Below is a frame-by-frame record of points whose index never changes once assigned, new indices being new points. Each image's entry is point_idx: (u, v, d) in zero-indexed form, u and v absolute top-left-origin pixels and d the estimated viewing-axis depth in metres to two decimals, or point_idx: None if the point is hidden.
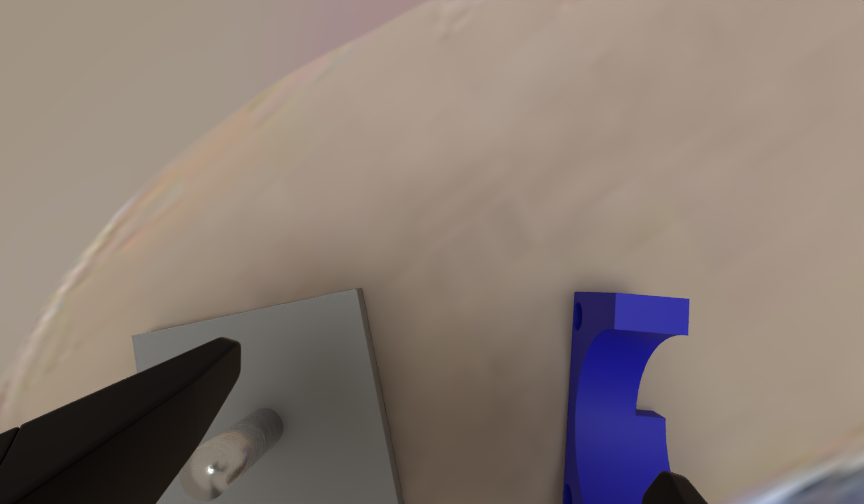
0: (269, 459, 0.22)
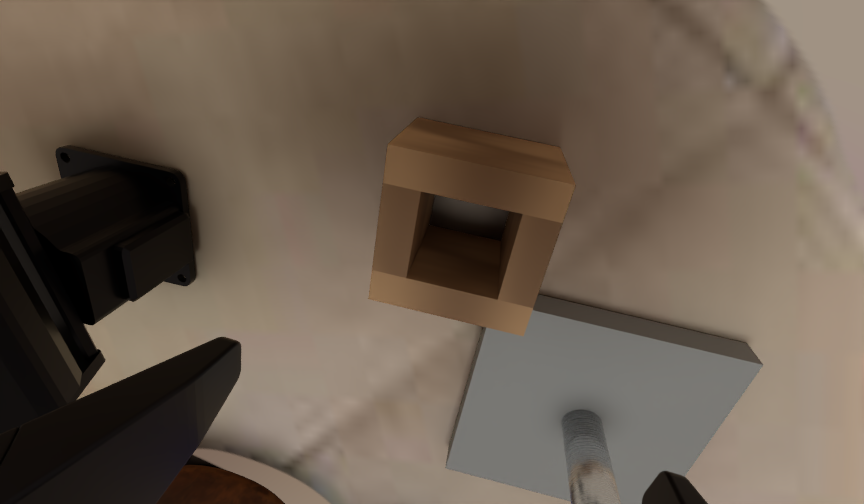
0: (551, 416, 0.22)
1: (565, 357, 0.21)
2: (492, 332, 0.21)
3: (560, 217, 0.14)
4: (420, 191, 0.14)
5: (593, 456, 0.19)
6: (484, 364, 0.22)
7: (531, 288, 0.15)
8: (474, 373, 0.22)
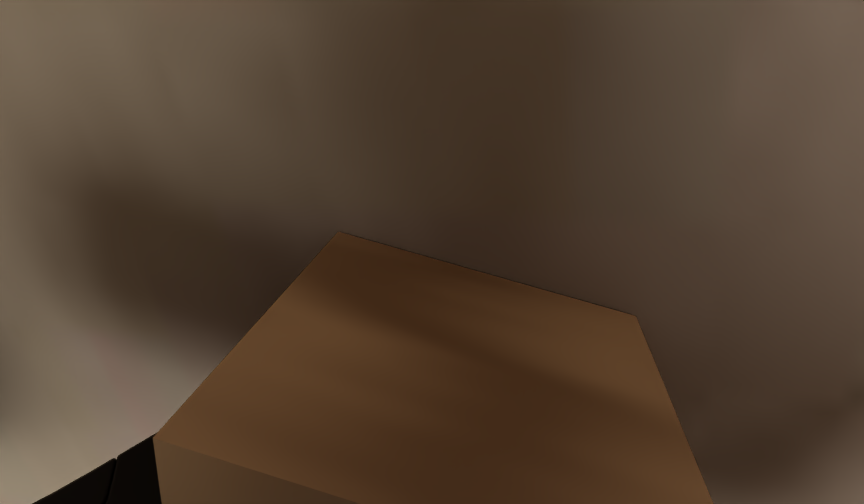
0: None
1: None
2: None
3: None
4: None
5: None
6: None
7: None
8: None
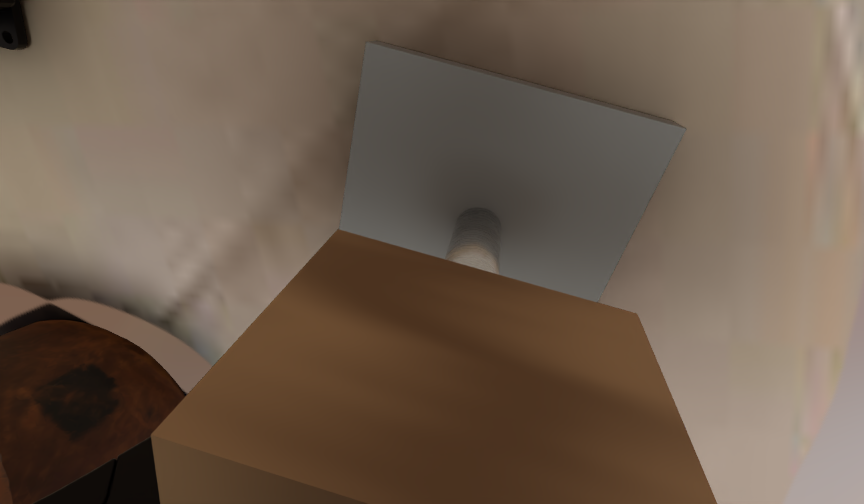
0: (442, 220, 0.19)
1: (454, 128, 0.17)
2: (367, 92, 0.17)
3: None
4: None
5: (475, 235, 0.16)
6: (361, 143, 0.18)
7: None
8: (350, 157, 0.18)
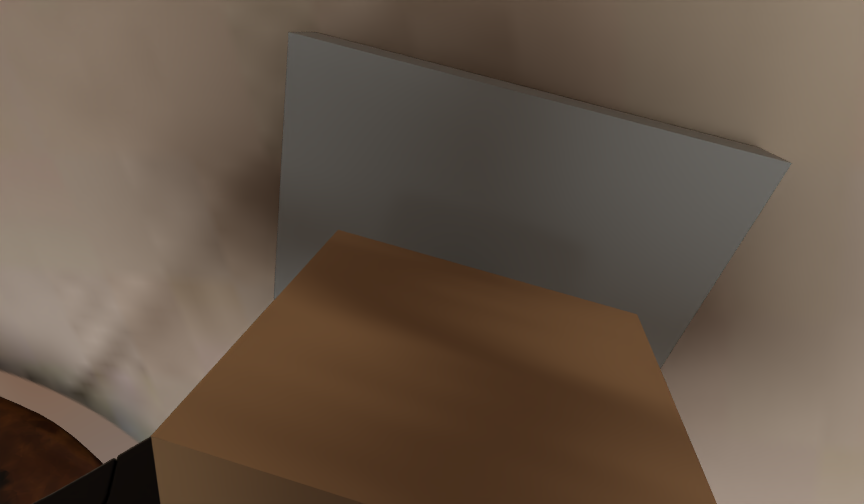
0: None
1: (428, 160, 0.11)
2: (296, 108, 0.11)
3: None
4: None
5: None
6: (294, 181, 0.12)
7: None
8: (281, 201, 0.13)
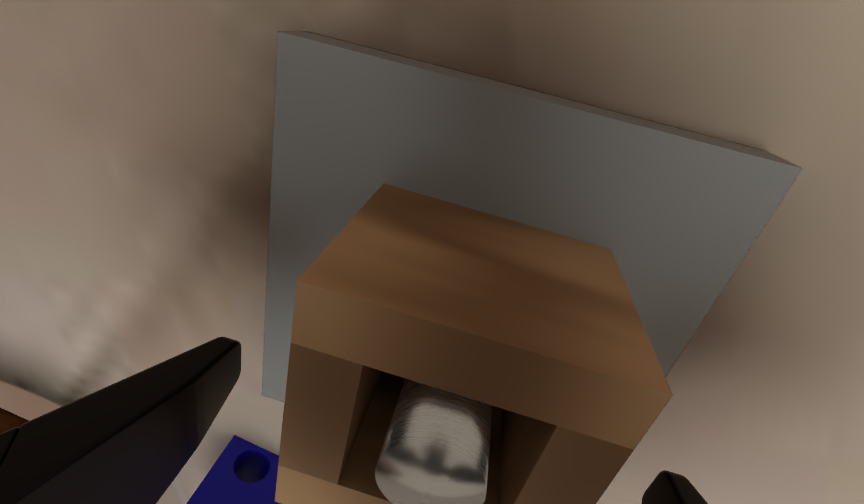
0: None
1: (423, 164, 0.11)
2: (287, 110, 0.11)
3: (631, 440, 0.07)
4: (362, 364, 0.07)
5: None
6: (285, 186, 0.12)
7: None
8: (272, 206, 0.12)
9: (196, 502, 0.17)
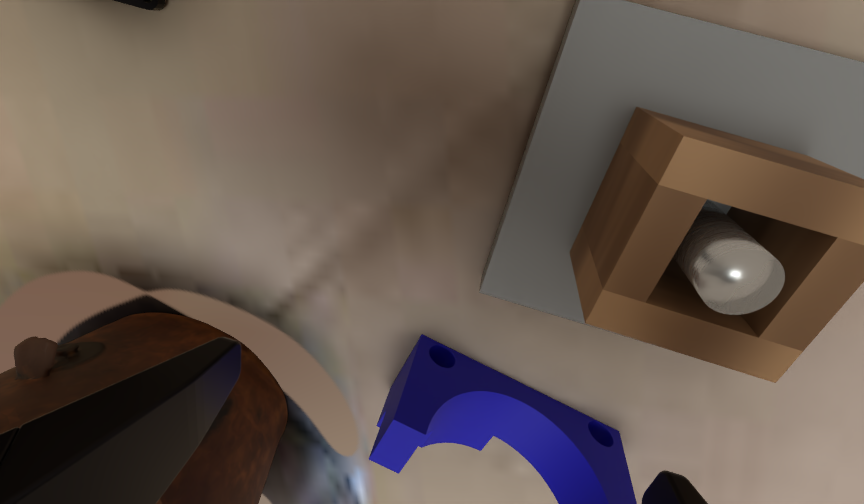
0: None
1: (672, 91, 0.15)
2: (573, 50, 0.15)
3: None
4: (706, 199, 0.11)
5: (714, 211, 0.14)
6: (554, 110, 0.16)
7: (810, 328, 0.12)
8: (538, 127, 0.16)
9: (414, 376, 0.21)
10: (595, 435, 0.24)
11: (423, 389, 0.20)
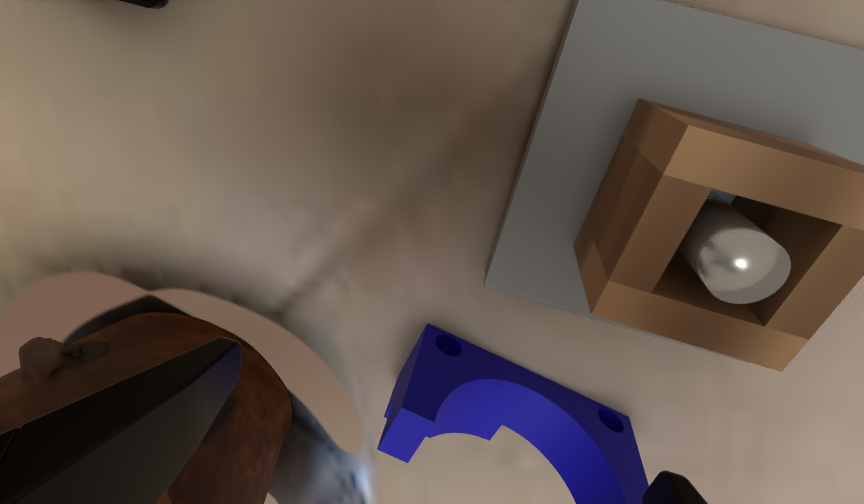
0: None
1: (675, 82, 0.15)
2: (575, 42, 0.15)
3: None
4: (711, 188, 0.11)
5: (718, 202, 0.14)
6: (556, 103, 0.16)
7: (816, 316, 0.12)
8: (540, 120, 0.16)
9: (420, 364, 0.20)
10: (605, 422, 0.24)
11: (430, 378, 0.20)
